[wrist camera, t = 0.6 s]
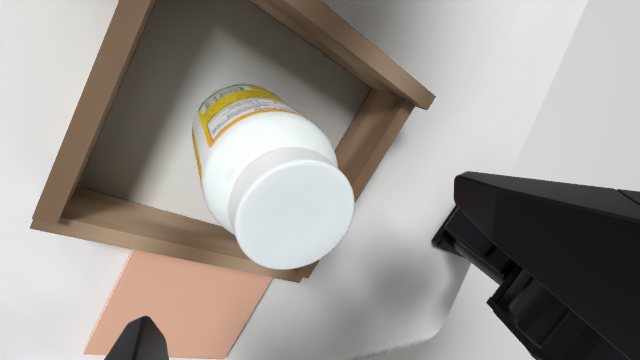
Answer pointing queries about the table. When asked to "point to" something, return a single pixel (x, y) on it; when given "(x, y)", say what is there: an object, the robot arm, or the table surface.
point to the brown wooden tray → (190, 234)
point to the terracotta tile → (179, 304)
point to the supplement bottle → (270, 177)
